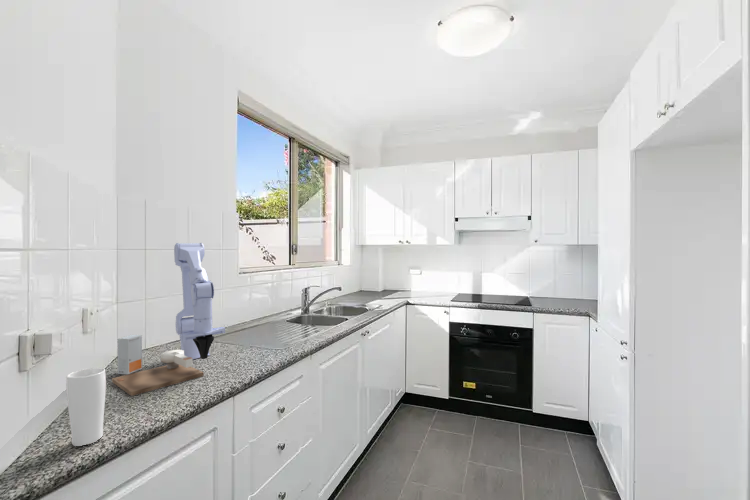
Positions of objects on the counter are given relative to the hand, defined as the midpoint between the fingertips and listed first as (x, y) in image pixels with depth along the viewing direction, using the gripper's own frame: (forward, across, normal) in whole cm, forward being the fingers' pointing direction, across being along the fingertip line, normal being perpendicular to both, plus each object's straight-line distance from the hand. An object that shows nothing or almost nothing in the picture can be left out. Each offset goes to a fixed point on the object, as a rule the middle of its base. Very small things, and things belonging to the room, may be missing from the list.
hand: (203, 358), depth 124 cm
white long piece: (+1, -6, +5) cm, 8 cm away
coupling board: (+5, -12, +5) cm, 14 cm away
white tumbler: (+5, -37, -25) cm, 45 cm away
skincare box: (+5, -15, +21) cm, 26 cm away
